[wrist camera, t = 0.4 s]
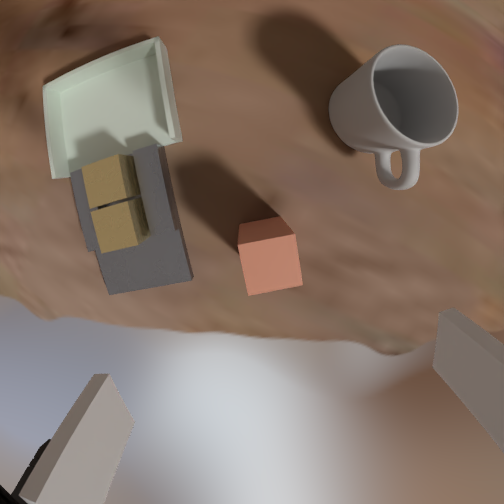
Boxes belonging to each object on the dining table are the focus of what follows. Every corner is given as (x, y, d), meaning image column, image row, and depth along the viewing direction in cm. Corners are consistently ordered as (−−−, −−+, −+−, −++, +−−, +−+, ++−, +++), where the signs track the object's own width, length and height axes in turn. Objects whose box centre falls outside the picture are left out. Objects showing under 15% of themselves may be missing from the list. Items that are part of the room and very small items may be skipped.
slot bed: (82, 172, 28) (69, 172, 26) (164, 146, 28) (156, 143, 25) (113, 290, 32) (103, 300, 29) (193, 276, 32) (189, 285, 29)
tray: (58, 91, 25) (42, 86, 22) (166, 48, 25) (158, 36, 22) (68, 177, 28) (52, 178, 25) (182, 141, 28) (175, 137, 25)
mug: (323, 76, 26) (360, 34, 16) (394, 82, 26) (449, 54, 16) (333, 187, 30) (378, 195, 19) (403, 185, 30) (466, 194, 19)
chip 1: (100, 166, 27) (81, 167, 23) (133, 155, 27) (117, 154, 23) (107, 203, 28) (89, 208, 24) (141, 194, 28) (126, 197, 24)
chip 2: (108, 206, 28) (90, 211, 24) (142, 197, 28) (127, 201, 24) (117, 243, 29) (101, 253, 25) (151, 235, 29) (138, 244, 25)
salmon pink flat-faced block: (239, 224, 30) (237, 245, 22) (280, 216, 30) (295, 233, 21) (247, 261, 31) (248, 295, 23) (286, 253, 31) (302, 284, 22)
